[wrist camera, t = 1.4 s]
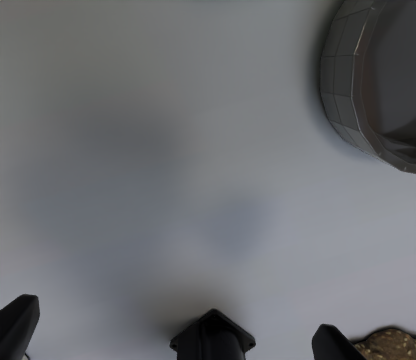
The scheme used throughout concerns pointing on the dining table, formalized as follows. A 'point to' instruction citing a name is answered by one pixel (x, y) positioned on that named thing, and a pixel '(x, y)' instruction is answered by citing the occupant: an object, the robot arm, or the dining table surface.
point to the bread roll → (388, 346)
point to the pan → (373, 79)
